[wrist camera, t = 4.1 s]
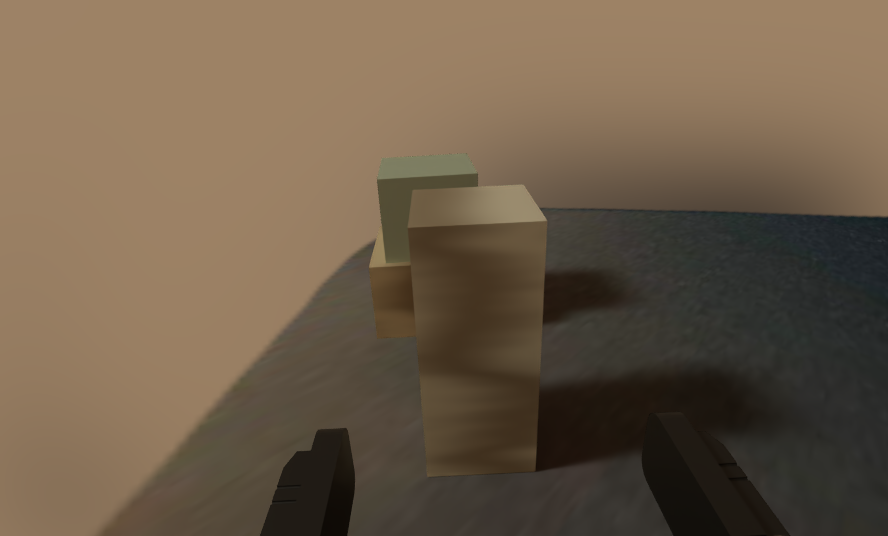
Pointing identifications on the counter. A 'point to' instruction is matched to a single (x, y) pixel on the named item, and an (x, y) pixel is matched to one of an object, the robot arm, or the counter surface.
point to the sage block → (415, 175)
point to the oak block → (391, 294)
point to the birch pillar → (478, 325)
